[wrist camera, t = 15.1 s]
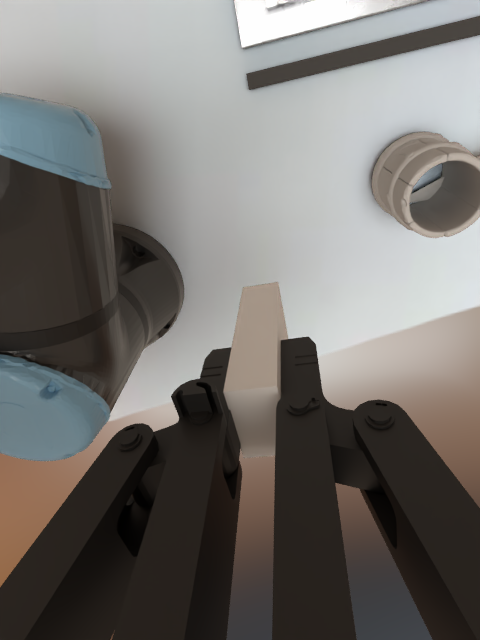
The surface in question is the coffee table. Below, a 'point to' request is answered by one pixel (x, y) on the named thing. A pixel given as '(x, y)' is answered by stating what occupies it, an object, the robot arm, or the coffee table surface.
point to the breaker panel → (302, 16)
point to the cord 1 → (365, 53)
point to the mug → (434, 199)
